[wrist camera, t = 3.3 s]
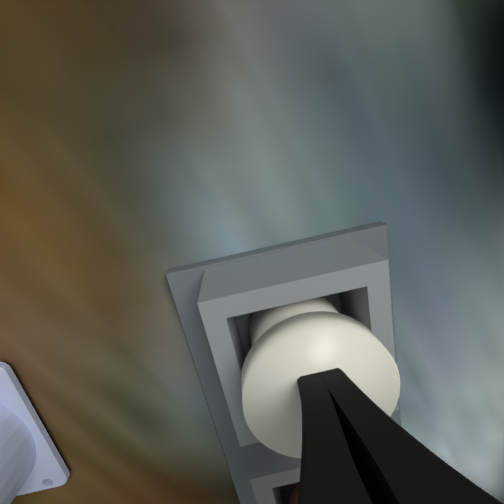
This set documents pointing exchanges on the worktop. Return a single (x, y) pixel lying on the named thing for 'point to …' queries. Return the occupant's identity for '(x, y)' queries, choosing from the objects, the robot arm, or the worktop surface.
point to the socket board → (264, 297)
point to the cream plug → (307, 366)
